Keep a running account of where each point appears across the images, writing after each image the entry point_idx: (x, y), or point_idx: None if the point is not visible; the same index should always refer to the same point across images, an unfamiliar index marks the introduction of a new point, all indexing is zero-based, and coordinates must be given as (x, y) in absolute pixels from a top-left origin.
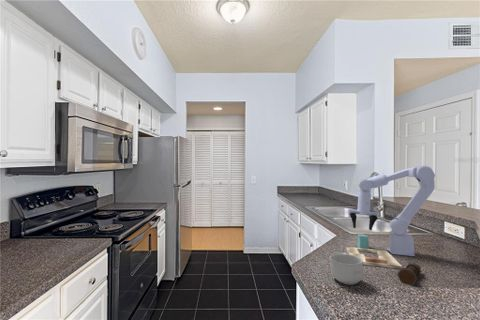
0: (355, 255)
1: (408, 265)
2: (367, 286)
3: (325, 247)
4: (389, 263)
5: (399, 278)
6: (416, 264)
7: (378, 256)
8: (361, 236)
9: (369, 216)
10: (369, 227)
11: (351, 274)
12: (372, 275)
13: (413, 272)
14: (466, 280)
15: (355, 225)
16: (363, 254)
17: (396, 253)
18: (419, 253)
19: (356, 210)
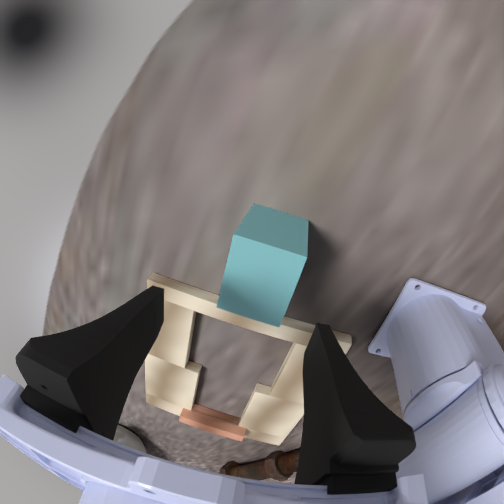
0: (162, 376)
1: (267, 472)
2: (157, 451)
3: (72, 243)
4: (252, 433)
5: (223, 466)
6: (285, 479)
7: (253, 394)
8: (234, 299)
9: (347, 435)
10: (314, 347)
11: None
12: (179, 439)
13: None
14: None
15: (149, 345)
16: (198, 374)
17: (385, 355)
18: (499, 325)
19: (76, 480)
